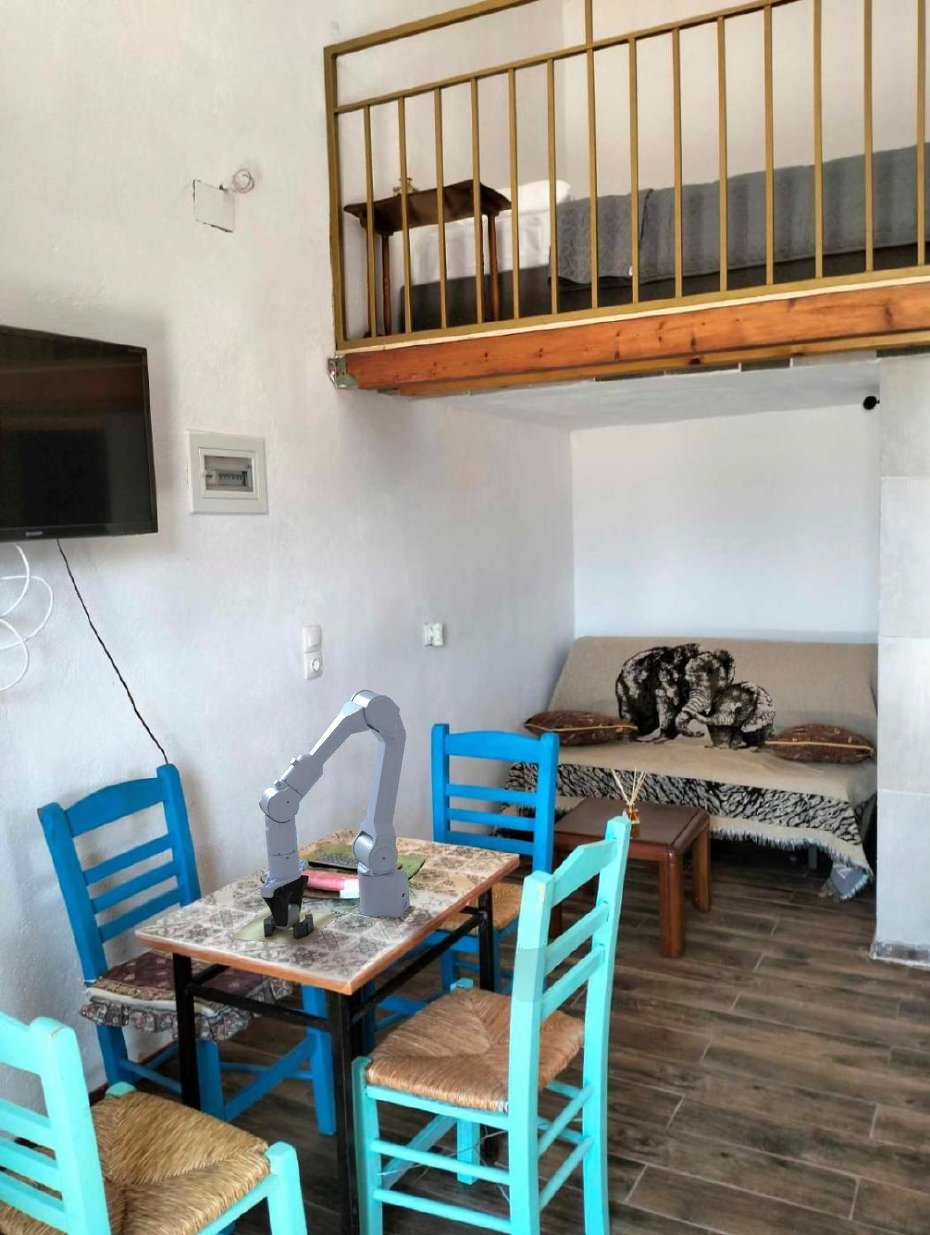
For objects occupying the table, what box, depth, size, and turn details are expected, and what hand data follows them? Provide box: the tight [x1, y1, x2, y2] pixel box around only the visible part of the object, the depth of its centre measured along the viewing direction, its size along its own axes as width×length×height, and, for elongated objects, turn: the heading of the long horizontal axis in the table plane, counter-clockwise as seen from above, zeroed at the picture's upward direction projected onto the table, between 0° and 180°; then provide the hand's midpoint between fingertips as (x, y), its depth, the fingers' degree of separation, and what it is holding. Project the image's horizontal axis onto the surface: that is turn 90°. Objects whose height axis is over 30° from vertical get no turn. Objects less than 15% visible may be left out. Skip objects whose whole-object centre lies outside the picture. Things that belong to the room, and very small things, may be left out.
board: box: [228, 909, 339, 946], centre depth 191 cm, size 16×14×1 cm
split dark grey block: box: [263, 914, 314, 940], centre depth 188 cm, size 9×6×2 cm
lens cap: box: [275, 903, 300, 929], centre depth 188 cm, size 5×5×3 cm
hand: (288, 920), depth 188 cm, fingers closed on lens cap, 4 cm apart
